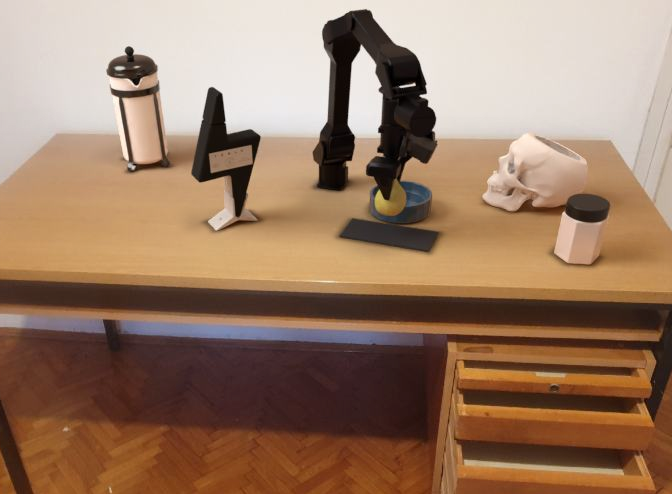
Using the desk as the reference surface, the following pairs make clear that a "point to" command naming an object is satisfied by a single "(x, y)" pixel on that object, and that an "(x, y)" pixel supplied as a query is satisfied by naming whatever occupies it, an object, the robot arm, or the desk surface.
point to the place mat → (389, 234)
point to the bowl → (407, 203)
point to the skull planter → (536, 174)
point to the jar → (582, 228)
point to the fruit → (391, 201)
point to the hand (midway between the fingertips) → (391, 193)
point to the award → (225, 160)
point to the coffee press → (138, 109)
